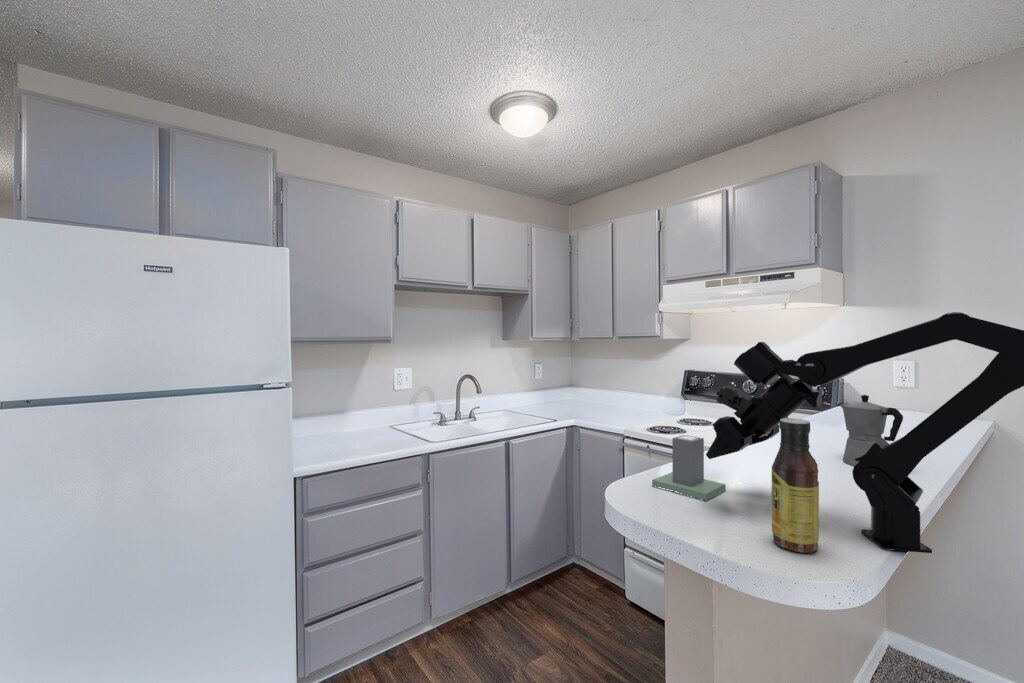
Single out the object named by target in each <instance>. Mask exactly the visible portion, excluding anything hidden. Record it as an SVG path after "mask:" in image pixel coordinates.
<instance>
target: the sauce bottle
mask: <svg viewBox="0 0 1024 683" xmlns="http://www.w3.org/2000/svg"><path fill="white" fill-rule="evenodd" d="M778 425H779V430H780V443H779V449H778V452H777V453H776V455H775V456H776V457H775V458H774V460H773V463H772V466H771V531H772V532H771V533H772V538H773V541H774V542H775V543H776V545H778V547H780V548H784V549H785V548H786V550H789V551H791V552H797V553H802V554H811V553H814V552H815V551H816V550H817V549H818V548H819V540H820V539H819V538H820V532H819V531H820V515H819V514H820V502H819V501H820V495H819V494H820V488H819V487H820V482H819V467H818V466H819V464H818V463H817V461H816V459H815V457H814V456H812V454H811V452H810V432H811V422H810V420H806V419H802V418H793V417H788V418H784V419H780V423H779V424H778Z"/></svg>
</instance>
